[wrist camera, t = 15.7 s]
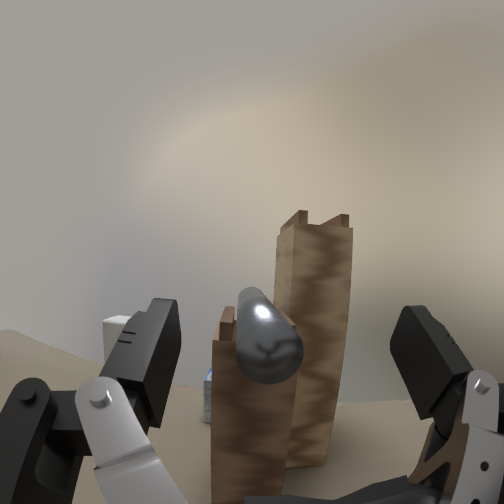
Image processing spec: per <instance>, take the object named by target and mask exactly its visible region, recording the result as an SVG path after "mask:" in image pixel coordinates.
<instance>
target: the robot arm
mask: <svg viewBox="0 0 504 504" xmlns="http://www.w3.org/2000/svg"><path fill="white" fill-rule="evenodd" d="M178 314H179V313H178V306H177V301H176V300H173V299H161V298H154V299H153V300H152V302H151V304H150V306H149V308H148V310H147V312H141V311H138V312H137V313H136V314H135V315H133V316H132V317H131V318H130V319H128V321H127V322H126V324H125V326H124V328H123V330H122V333H121V334H120V335H119V337H118V339H117V342H116V343H115V345H114V347H113V349H112V351H111V353H110V355H109V357H108V359H107V361H106V363H105V365H104V367H103V369H102V371H101V373H100V375H99V376H98V377H94V378H91V379H89V380H87V381H85V382H84V383H82V384H81V385H80V387H79V388H78V389H77V390H74V391H51V390H50V389H49V387H48V386H47V384H46V383H45V382H44V381H43V380H41V379H39V378H27V379H24V380H22V381H20V382H19V383H18V384H17V385H16V386H15V387H14V388H13V390H12V392H11V394H10V396H9V397H8V399H7V401H6V403H5V405H4V407H3V409H2V411H1V413H0V504H72V500H73V495H74V491H75V487H76V483H77V479H78V475H79V471H80V467H81V464H82V460H83V457H84V456H93V458H94V460H95V463H96V468H94V474H95V477H96V480H97V483H98V485H99V487H100V489H101V492H102V494H103V496H104V498H105V500H106V502H107V504H189V503H188V501H187V500H186V499H185V497H184V496H183V494H182V493H181V491H180V490H179V488H178V487H177V486H176V484H175V483H174V481H173V480H172V478H171V476H170V475H169V473H168V472H167V470H166V469H165V467H164V465H163V464H162V462H161V460H160V459H159V457H158V455H157V454H156V452H155V450H154V449H153V447H152V446H151V444H150V442H149V440H148V438H147V433H148V429H149V426H150V427H155V428H160V426H161V422H162V418H163V414H164V410H165V406H166V402H167V398H168V394H169V391H170V387H171V383H172V379H173V376H174V372H175V368H176V365H177V361H178V357H179V354H180V349H181V329H180V322H179V315H178ZM390 351H391V354H392V356H393V358H394V361H395V363H396V365H397V367H398V369H399V371H400V374H401V376H402V378H403V380H404V382H405V384H406V387H407V389H408V391H409V394H410V396H411V398H412V401H413V403H414V405H415V408H416V410H417V413H418V415H419V417H420V420H423V419H427V418H431V417H433V419H434V422H433V423H432V424H431V426H430V428H429V432H428V435H427V438H426V441H425V444H424V447H423V450H422V453H421V456H420V458H419V461H418V464H417V466H416V468H415V470H414V471H413V473H412V474H411V475H410V476H409V478H408V479H407V475H405V476H402V477H398V478H394V479H391V480H387V481H383V482H378V483H374V484H371V485H369V486H367V487H365V488H362V489H360V490H358V491H356V492H353V493H351V494H349V495H346V496H344V497H341V498H339V499H336V500H323V499H313V498H305V497H298V496H291V495H282V496H244V503H239V504H504V384H500V383H497V381H496V380H495V378H494V377H493V376H492V375H491V374H489V373H488V372H486V371H483V370H473V368H472V367H471V365H470V363H469V362H468V360H467V359H466V357H465V356H464V354H463V353H462V351H461V350H460V348H459V347H458V345H457V344H455V341H454V339H453V338H452V337H450V334H449V332H448V331H447V330H446V328H445V327H444V325H442V324H441V323H440V322H439V321H437V320H436V319H435V318H433V316H432V315H431V314H430V312H429V311H428V310H427V308H426V307H425V306H423V305H416V306H405V307H404V308H403V309H402V311H401V314H400V317H399V319H398V322H397V325H396V327H395V329H394V332H393V334H392V337H391V340H390Z"/></svg>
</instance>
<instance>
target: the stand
mask: <svg viewBox="0 0 504 504" xmlns="http://www.w3.org/2000/svg"><path fill="white" fill-rule="evenodd" d="M307 219H308V211H303V210H299V211H298V212H297V213H296V214H294V216H292V217H291V218H290V219H289V220H288V221H287V222H286V223H285V224H284V225H283V226H282V227H281V229H280V230H281V231H280V235H279V236H277V248H276V267H275V284H274V301H273V305H274V306H275V308H276V309H281V310H282V311H283V312H284V313H285V314H286V315H287V316H288V317H289V318H290V319H291V321H292V322H293V323H294V324H295V325H296V332H297V333H298V334H299V336H300V338H301V340H302V342H303V346H304V356H303V360H302V363H301V365H300V367H299V369H298V375H297V384H296V393H295V401H294V409H293V417H292V424H291V431H290V438H289V445H288V452H287V458H286V464H285V468H295V467H309V466H319V465H324V461H325V457H326V453H327V449H328V444H329V440H330V435H331V430H332V425H333V420H334V415H335V409H336V404H337V398H338V391H339V386H340V379H341V372H342V365H343V358H344V350H345V342H346V332H347V323H348V312H349V300H350V286H351V269H352V244H353V228H349V215H346V214H340V215H338V216H336V217H334V218H332V219H331V220H329V221H327V222H325V223H323V224H321V225H313V224H307V221H308V220H307Z"/></svg>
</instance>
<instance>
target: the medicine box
mask: <svg viewBox="0 0 504 504" xmlns="http://www.w3.org/2000/svg"><path fill="white" fill-rule="evenodd" d="M211 379H212V367H211V369H210V371H209V372H208V374H207V376H206V378H205V379H204V422H207V423H211Z"/></svg>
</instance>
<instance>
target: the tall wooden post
mask: <svg viewBox="0 0 504 504" xmlns="http://www.w3.org/2000/svg"><path fill="white" fill-rule="evenodd" d="M234 309H235V308H234V307H229V306H225V309H224V311H223V314H222V317H221V319H220V321H219V324H218V327H217V329H216V332H215V335H214V338H213V344H212V345H213V346H212V379H211V496H212V504H239V503H244V496H280V493H281V488H282V482H283V476H284V470H285V464H286V458H287V452H288V445H289V438H290V431H291V424H292V417H293V409H294V401H295V393H296V384H297V375H298V370H297V371H296V372H295V374H294V375H292V376H291V377H290V378H288V379H287V380H285V381H283V382H280V383H277V384H268V385H267V384H260V383H257V382H254V381H252V380H250V379H249V378H247V377H246V376H245V375H244V374H243V373H242V372H241V370H240V369H239V367H238V365H237V361H236V330H237V321H236V320H234ZM277 310H278V311H279V312H280V313H281V315H282V316H283V317H284V318H285V319H286V320H287V321H288V323H289V324H290V325H291V326H292V327H293V328H294V329H295V331H296V325H295V324H294V323H293V322H292V321H291V319H290V318H289V317H288V316H287V315H286V314H285V313H284V312H283V311H282V310H281V309H277Z"/></svg>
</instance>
